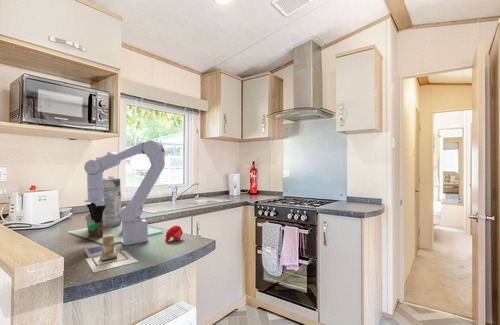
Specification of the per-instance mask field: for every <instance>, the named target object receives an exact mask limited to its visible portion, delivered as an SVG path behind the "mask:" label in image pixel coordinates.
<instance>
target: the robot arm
mask: <svg viewBox="0 0 500 325" xmlns="http://www.w3.org/2000/svg"><path fill="white" fill-rule="evenodd" d="M165 153H166V150H165V148H164V146H163V144H162V143H161V142H158V141H154V140H151V139H149V140H146V141H145V142H144V141H143V142H140V143H137V144H136V145H133V146H131V147H129V148H126V149H125V150H122V151H119V152H118V153H116V152H114V151H113V152H111V151H109V152H107V153H106V155H103V156H101V157H100V156H97V157H95V159H89V160H87V161H86V162H85V163H84V166H83V167H84V168H83V169H84V171H85V173H86V175H87V176H86V178H87V179H86V181H87V183H86V184H87V185H86V186H87V199H85V200H84V202H85V203H87V204H85V205H86V207H87V209H88V211H89V214H90V215H91V219H92V220H94V221H95V223H101V220H102V215H103V212H104V209H105V207H106V205H102V202H103V201H104V199H103V179H104V177H103V176H104V174H103V173H104V172H105V171H107V170H110V169H112V168H115V167H116V166H119V165H120V164H121V162H122V161H123V160H126V159H129V158H131V157H134V156H136V155H139V154H140V155H145V156H147V158H148V160H149V163H150V166H149V169H148V170H147V172H146V174H145V175H144V177H143V179H142V180H141V182H140V185H139V186H138V188H137V190H136V191H135V193H134V195H133V196H132V198H131V199H130V200H129V201H128V203H127V204H126V205H125V206H126V207H125V206H123V207H124V208H123V207H122V208H123V209H122V208H121V209H122V210H121V212H120V217H121V221H122V220H123V232H122V240H121V239H120V243H121V244H122V245H124V246H130V245H134V244H140V243H145V242H148V241H149V232H148V229H149V228H148V222H147V219H145V218H144V219H142V217H141V216H142V214H143V208H144V207H145V202H146V200H147V198H148V196H149V194H150V193H151V191H152V189H153V188H154V186H155V184H156V182H157V180H158V178H159V177H160V175H161V174H162V171H163V170H164V168H165V166H166V161H165V160H166V159H165ZM101 205H102V206H101Z"/></svg>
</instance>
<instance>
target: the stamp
mask: <svg viewBox="0 0 500 325" xmlns="http://www.w3.org/2000/svg"><path fill="white" fill-rule="evenodd" d="M101 239H102V240H101V241H102V246H103V251H102V252H100V259H101V261H102V262H106V261H110V260H115V259H117V249H116V250H115V249H114V247H115V237H114V235H113V233H111V234H103V236H102V237H101Z"/></svg>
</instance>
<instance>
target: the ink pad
mask: <svg viewBox="0 0 500 325" xmlns="http://www.w3.org/2000/svg"><path fill="white" fill-rule="evenodd" d="M114 249H115V250H116V251H117V248H115V246H114ZM102 251H103V245H99V246H94V247H87V248H85V249H84V253H85V255H86V256H87V258H91V257H96V256H100V252H102Z"/></svg>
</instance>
